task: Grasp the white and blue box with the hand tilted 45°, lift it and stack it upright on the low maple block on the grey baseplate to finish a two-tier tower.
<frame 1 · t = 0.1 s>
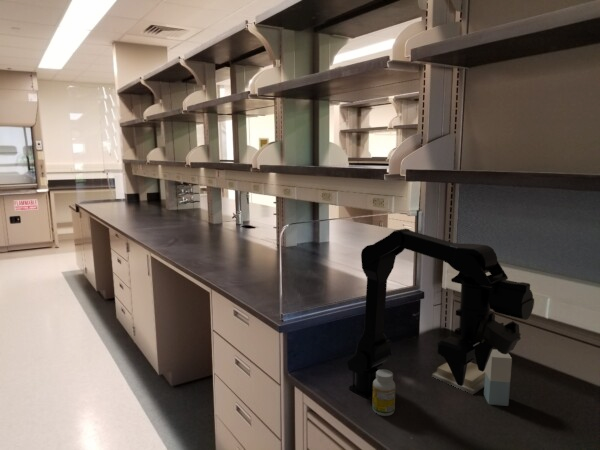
hand: (471, 377, 91), 15 cm above the lab bench, tool pointing down, fingers open, 9 cm apart
white and blue box: (495, 400, 109), on the lab bench
supplement bottle: (383, 410, 104), on the lab bench
tower base: (462, 378, 119), on the lab bench
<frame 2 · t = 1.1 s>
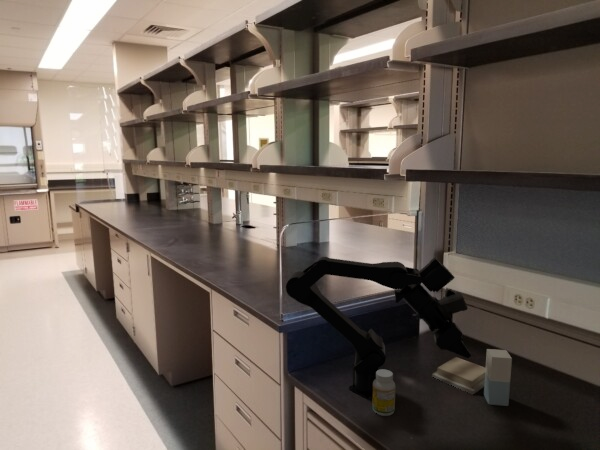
hand: (465, 348, 108), 13 cm above the lab bench, tool tilted 45°, fingers open, 9 cm apart
nothing on the lab bench moved.
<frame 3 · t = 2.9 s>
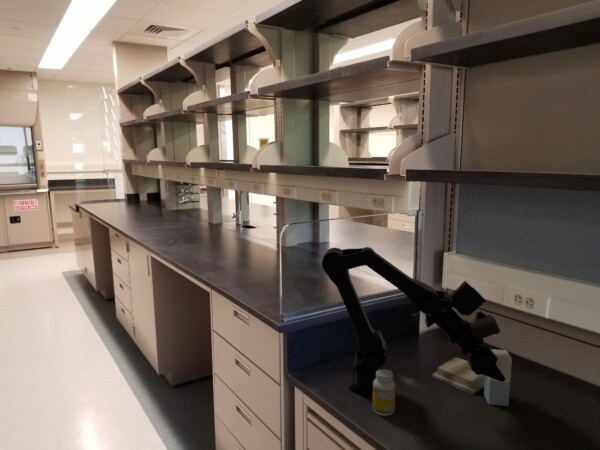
hand: (498, 371, 108), 8 cm above the lab bench, tool tilted 45°, fingers open, 9 cm apart
nothing on the lab bench moved.
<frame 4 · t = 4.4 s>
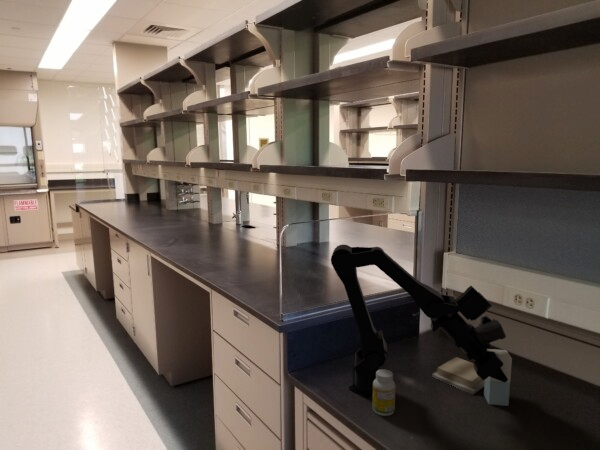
hand: (503, 376, 108), 7 cm above the lab bench, tool tilted 45°, fingers closed on white and blue box, 5 cm apart
white and blue box: (495, 400, 109), on the lab bench, touching gripper
everything else where it was.
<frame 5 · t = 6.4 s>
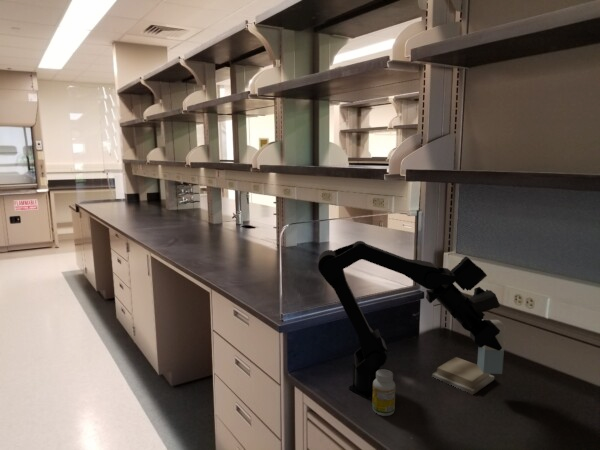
hand: (496, 345, 110), 13 cm above the lab bench, tool tilted 45°, fingers closed on white and blue box, 5 cm apart
white and blue box: (489, 369, 111), point 7 cm above the lab bench, touching gripper
everything else where it was.
when the fingers open (12 cm above the lab bench, at t = 8.7 s): white and blue box drops 2 cm, resting on tower base.
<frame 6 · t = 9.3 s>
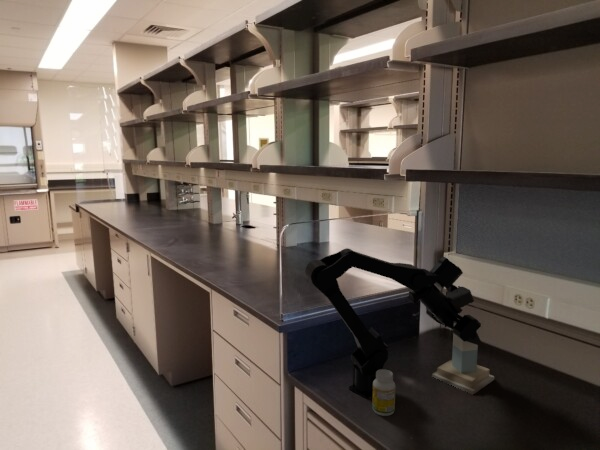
hand: (469, 336, 118), 12 cm above the lab bench, tool tilted 45°, fingers open, 9 cm apart
white and blue box: (464, 368, 119), point 3 cm above the lab bench, touching tower base
everything else where it was.
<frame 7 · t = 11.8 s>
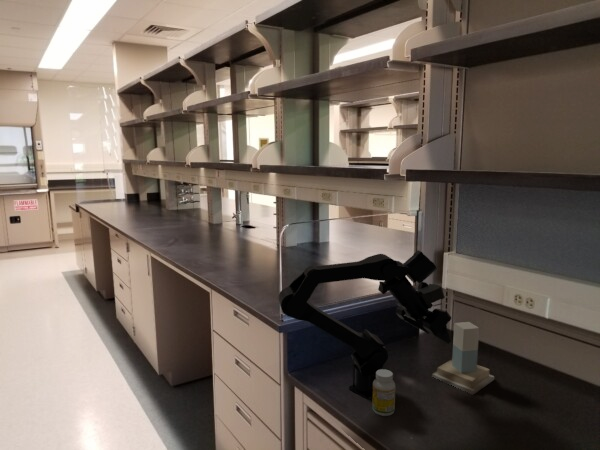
hand: (439, 337, 114), 13 cm above the lab bench, tool tilted 40°, fingers open, 9 cm apart
nothing on the lab bench moved.
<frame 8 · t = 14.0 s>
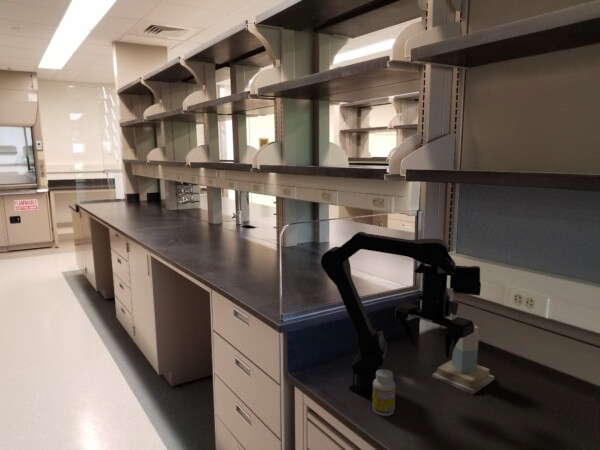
hand: (431, 352, 106), 13 cm above the lab bench, tool pointing down, fingers open, 9 cm apart
nothing on the lab bench moved.
at the end: white and blue box 0.1 cm off-centre on the tower base, point 3.0 cm above the tower base's base; white and blue box tilted 0°; the gripper is holding nothing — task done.
